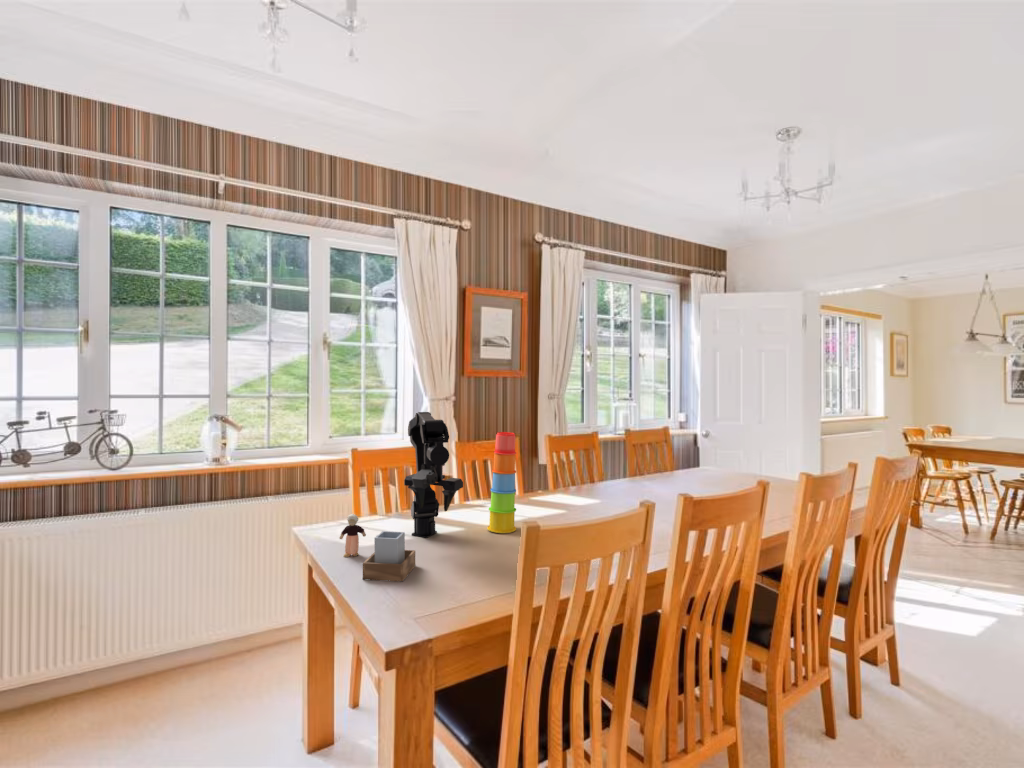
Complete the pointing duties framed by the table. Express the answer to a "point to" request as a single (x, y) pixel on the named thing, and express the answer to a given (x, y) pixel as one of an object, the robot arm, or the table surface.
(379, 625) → the table surface
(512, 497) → the stacking cups
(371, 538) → the table surface
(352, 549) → the grandmother figurine
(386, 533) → the grey upright prism
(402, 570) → the crate large
